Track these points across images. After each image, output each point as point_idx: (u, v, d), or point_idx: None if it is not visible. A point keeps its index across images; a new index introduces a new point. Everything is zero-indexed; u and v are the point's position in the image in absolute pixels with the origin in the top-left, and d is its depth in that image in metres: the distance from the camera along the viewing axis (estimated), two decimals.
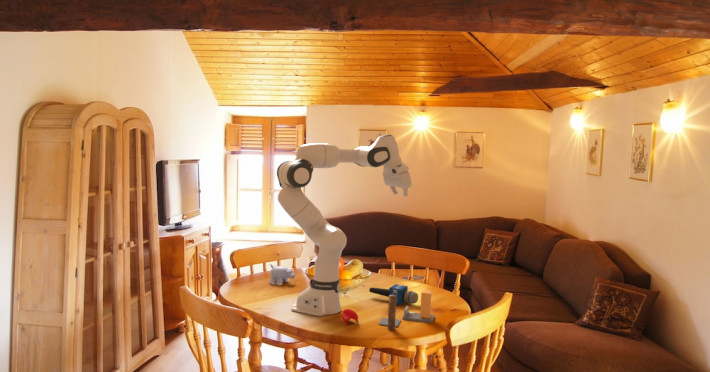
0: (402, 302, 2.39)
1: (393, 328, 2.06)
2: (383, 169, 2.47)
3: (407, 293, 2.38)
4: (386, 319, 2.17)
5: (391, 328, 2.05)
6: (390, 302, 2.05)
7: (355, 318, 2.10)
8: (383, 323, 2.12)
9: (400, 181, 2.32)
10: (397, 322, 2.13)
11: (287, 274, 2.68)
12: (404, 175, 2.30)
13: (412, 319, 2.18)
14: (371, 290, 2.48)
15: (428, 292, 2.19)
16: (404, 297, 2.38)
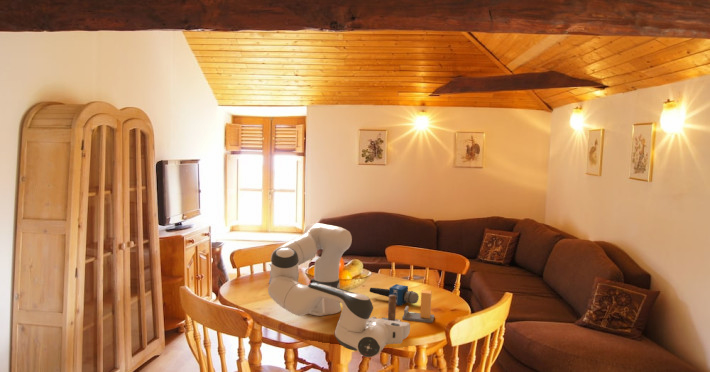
0: (402, 302, 2.39)
1: None
2: None
3: (407, 293, 2.38)
4: (386, 319, 2.17)
5: None
6: (390, 302, 2.05)
7: None
8: None
9: None
10: None
11: None
12: (405, 333, 1.81)
13: (412, 319, 2.18)
14: (371, 290, 2.48)
15: (428, 292, 2.19)
16: (404, 297, 2.38)
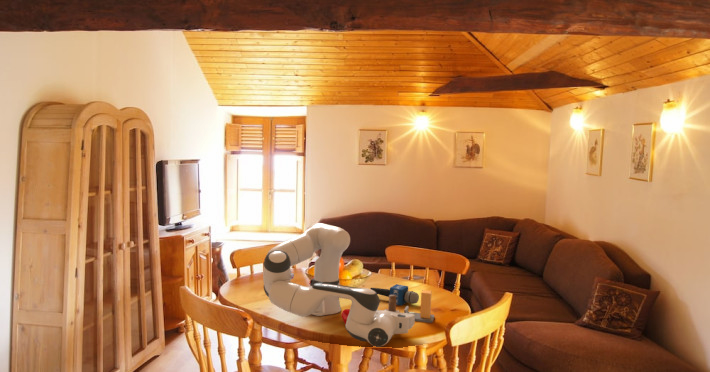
0: (403, 302, 2.39)
1: None
2: None
3: (408, 293, 2.38)
4: None
5: None
6: (390, 302, 2.05)
7: None
8: None
9: None
10: None
11: None
12: (411, 324, 1.94)
13: None
14: None
15: (428, 292, 2.19)
16: (405, 297, 2.38)
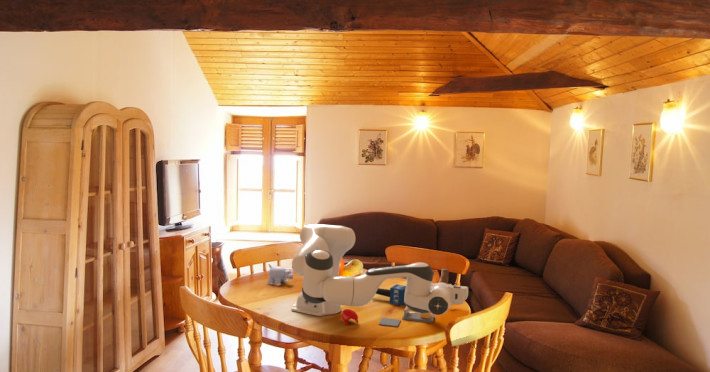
0: (403, 302, 2.39)
1: None
2: None
3: None
4: (386, 319, 2.17)
5: None
6: (443, 276, 2.11)
7: (355, 318, 2.10)
8: (383, 323, 2.12)
9: None
10: (397, 322, 2.13)
11: (285, 274, 2.67)
12: (465, 295, 2.01)
13: (412, 319, 2.18)
14: None
15: None
16: None
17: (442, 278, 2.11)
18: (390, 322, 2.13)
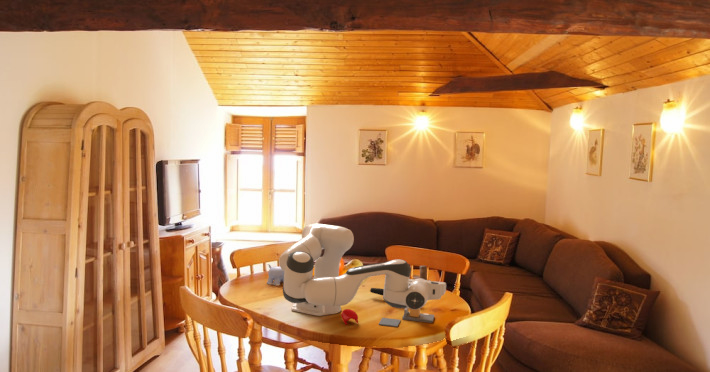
0: None
1: None
2: None
3: None
4: (386, 319, 2.17)
5: None
6: (421, 272, 2.18)
7: (355, 318, 2.10)
8: (383, 323, 2.12)
9: None
10: (397, 322, 2.13)
11: None
12: (443, 291, 2.08)
13: (412, 319, 2.18)
14: (372, 290, 2.48)
15: None
16: None
17: (421, 275, 2.18)
18: (390, 322, 2.13)
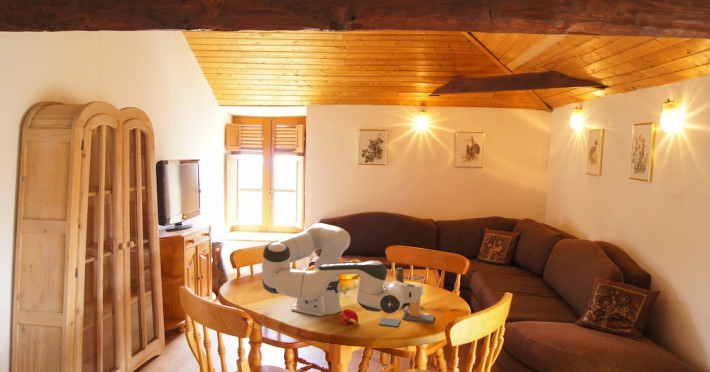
0: None
1: None
2: None
3: None
4: (386, 319, 2.17)
5: None
6: (398, 275, 2.10)
7: (355, 318, 2.10)
8: (383, 323, 2.12)
9: None
10: (397, 322, 2.13)
11: None
12: (419, 294, 2.00)
13: (412, 319, 2.18)
14: None
15: None
16: None
17: (397, 277, 2.11)
18: (390, 322, 2.13)
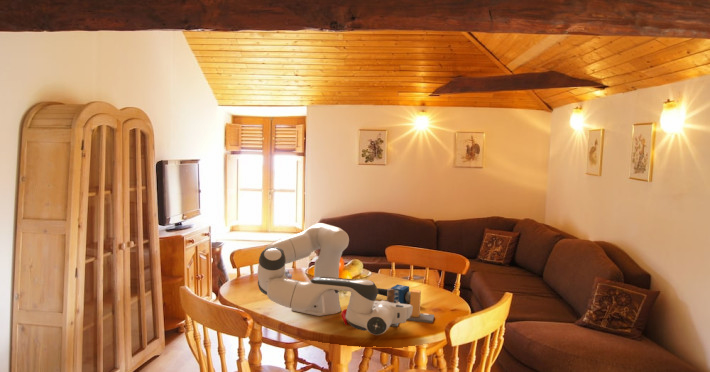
0: (404, 302, 2.39)
1: None
2: None
3: (408, 293, 2.38)
4: None
5: None
6: (388, 295, 2.12)
7: None
8: None
9: None
10: None
11: None
12: (408, 314, 2.02)
13: (412, 319, 2.18)
14: None
15: (417, 291, 2.20)
16: (405, 297, 2.38)
17: (388, 298, 2.12)
18: None
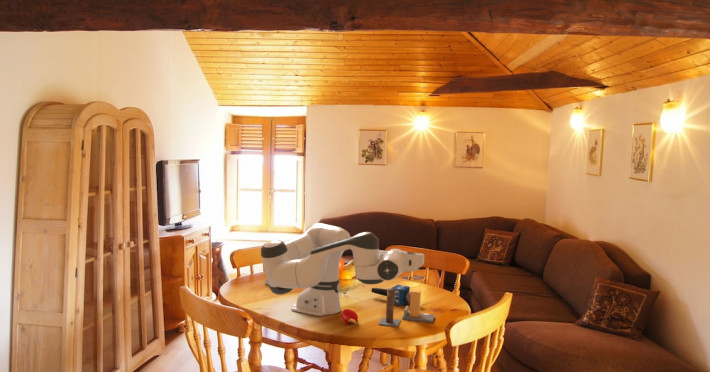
0: (404, 302, 2.39)
1: (391, 321, 2.13)
2: None
3: (409, 293, 2.38)
4: None
5: (389, 320, 2.12)
6: (388, 295, 2.12)
7: (355, 318, 2.10)
8: (383, 323, 2.12)
9: None
10: (397, 322, 2.13)
11: None
12: (420, 262, 1.90)
13: (412, 319, 2.18)
14: (373, 290, 2.48)
15: (417, 291, 2.20)
16: (406, 297, 2.38)
17: (388, 298, 2.12)
18: None
